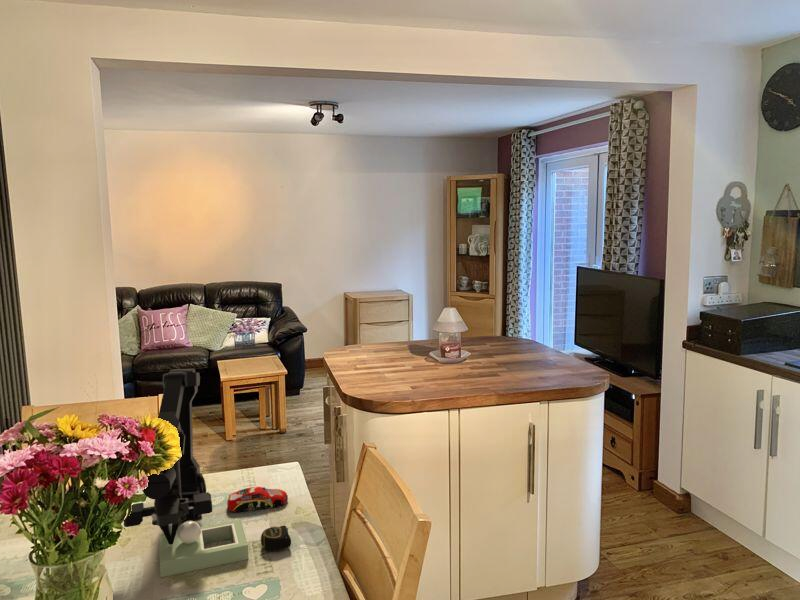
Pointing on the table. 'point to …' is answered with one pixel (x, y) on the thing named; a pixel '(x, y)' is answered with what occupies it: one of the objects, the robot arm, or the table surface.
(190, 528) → the ball
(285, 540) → the tape measure
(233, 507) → the race car
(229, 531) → the green
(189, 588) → the table surface
